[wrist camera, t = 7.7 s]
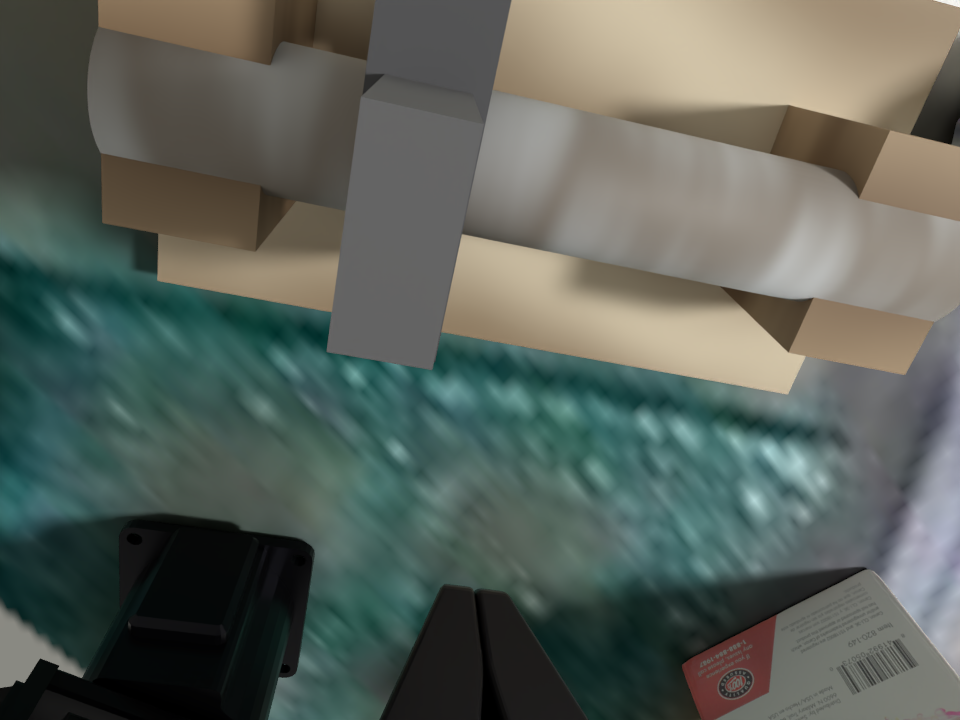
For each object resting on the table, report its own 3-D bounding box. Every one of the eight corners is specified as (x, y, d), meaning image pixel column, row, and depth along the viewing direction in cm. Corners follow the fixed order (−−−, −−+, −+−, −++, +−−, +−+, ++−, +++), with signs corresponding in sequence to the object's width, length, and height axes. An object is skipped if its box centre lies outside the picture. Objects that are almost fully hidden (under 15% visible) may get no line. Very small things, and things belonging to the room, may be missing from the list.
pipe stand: (774, 379, 23) (879, 495, 17) (170, 268, 20) (67, 363, 14) (942, 10, 18) (1162, 7, 12) (182, -197, 15) (35, -317, 10)
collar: (437, 257, 19) (432, 471, 10) (364, 242, 19) (290, 449, 10) (489, -2, 16) (545, -26, 7) (404, -23, 16) (353, -76, 7)
